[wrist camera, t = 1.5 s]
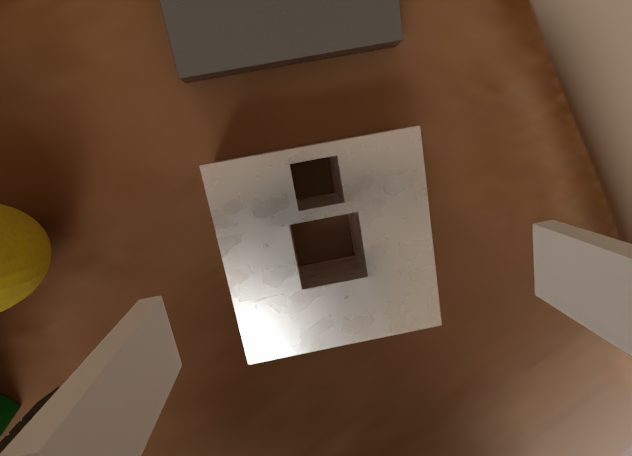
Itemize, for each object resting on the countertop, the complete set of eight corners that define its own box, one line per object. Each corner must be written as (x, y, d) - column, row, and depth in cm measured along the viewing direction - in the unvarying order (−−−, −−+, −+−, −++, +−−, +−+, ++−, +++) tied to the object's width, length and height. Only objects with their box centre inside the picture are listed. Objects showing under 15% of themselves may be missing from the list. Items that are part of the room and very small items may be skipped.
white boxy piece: (417, 297, 25) (441, 325, 21) (253, 330, 25) (248, 365, 21) (396, 128, 23) (420, 125, 19) (214, 161, 22) (199, 165, 18)
